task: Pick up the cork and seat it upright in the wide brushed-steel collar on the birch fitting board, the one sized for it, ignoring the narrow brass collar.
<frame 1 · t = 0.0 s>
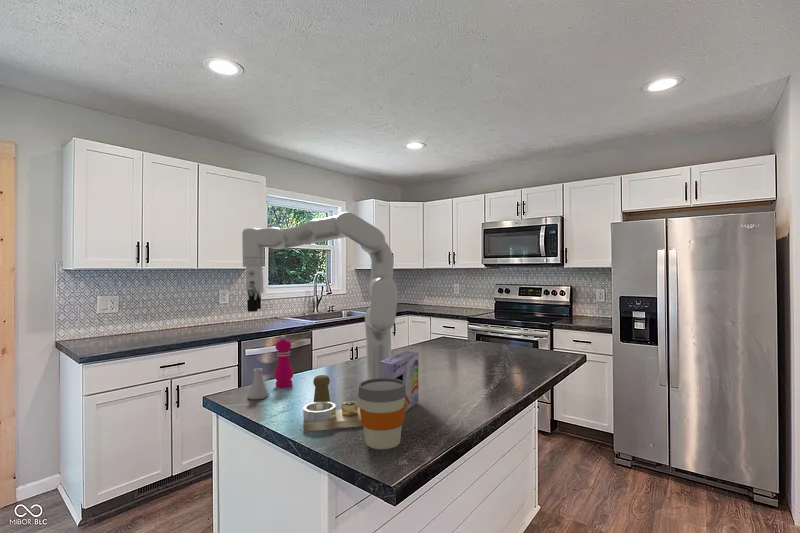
hand: (254, 310, 146), 31 cm above the counter, tool pointing down, fingers open, 9 cm apart
reusable coffee cup: (383, 442, 105), on the counter
pepper mill: (284, 386, 159), on the counter
cake pan box: (399, 412, 128), on the counter
flask: (258, 397, 145), on the counter
wide steel collar: (319, 423, 119), resting on fitting board
cork: (322, 410, 131), on the counter
narrow brass collar: (350, 420, 120), resting on fitting board
fitting board: (334, 422, 120), on the counter
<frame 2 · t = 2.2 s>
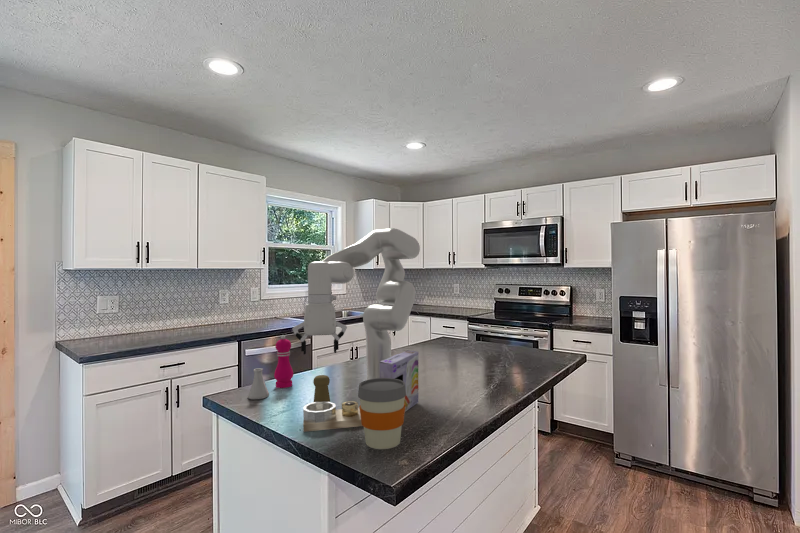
hand: (320, 352, 130), 18 cm above the counter, tool pointing down, fingers open, 9 cm apart
nothing on the counter moved.
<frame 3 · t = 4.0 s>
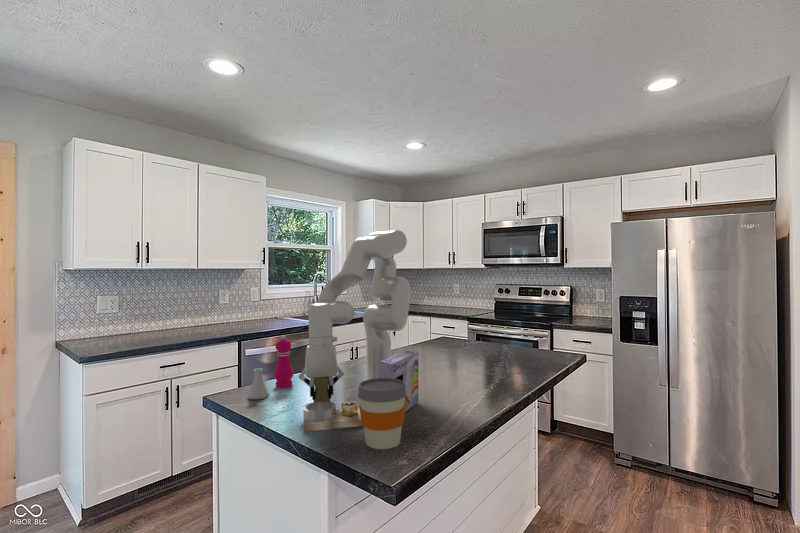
hand: (321, 397, 131), 4 cm above the counter, tool pointing down, fingers closed on cork, 4 cm apart
cork: (322, 410, 131), on the counter, touching gripper
everything else where it was.
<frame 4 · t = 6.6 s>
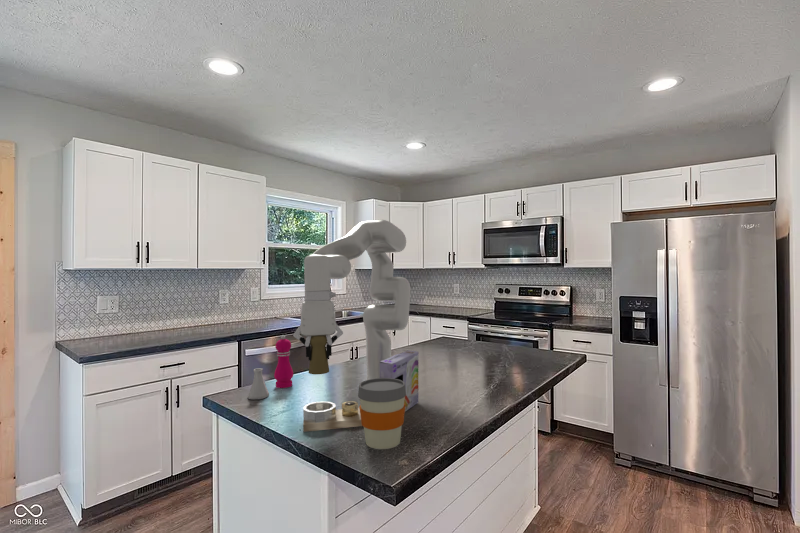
hand: (318, 358, 119), 19 cm above the counter, tool pointing down, fingers closed on cork, 4 cm apart
cork: (319, 372, 119), point 15 cm above the counter, touching gripper
everything else where it was.
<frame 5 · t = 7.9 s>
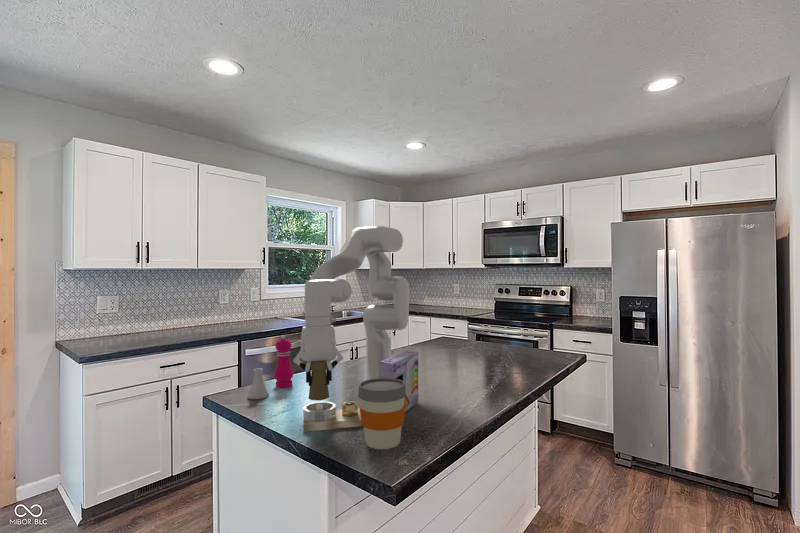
hand: (318, 383, 119), 12 cm above the counter, tool pointing down, fingers closed on cork, 4 cm apart
cork: (318, 397, 119), point 8 cm above the counter, touching gripper
everything else where it was.
when the fingers open (7 cm above the counter, at t = 9.2 s): cork stays where it is, resting on fitting board.
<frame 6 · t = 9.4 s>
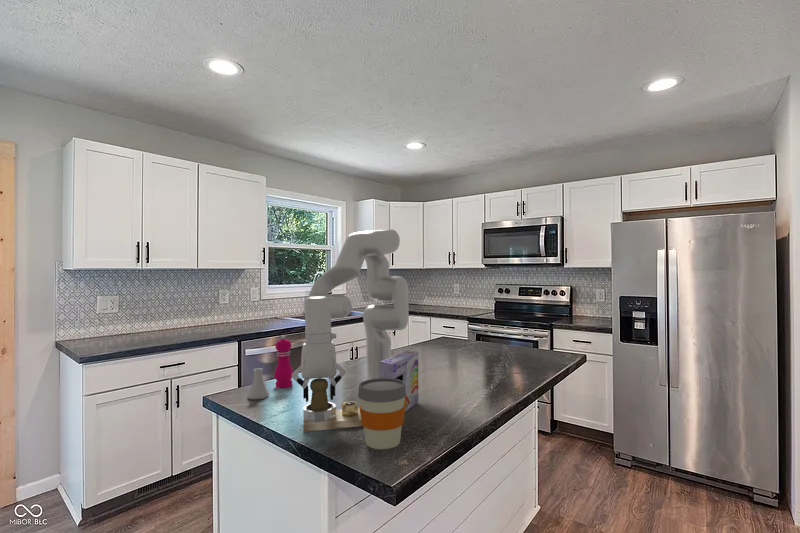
hand: (319, 399, 119), 7 cm above the counter, tool pointing down, fingers open, 6 cm apart
cork: (319, 417, 119), point 2 cm above the counter, touching fitting board
everything else where it was.
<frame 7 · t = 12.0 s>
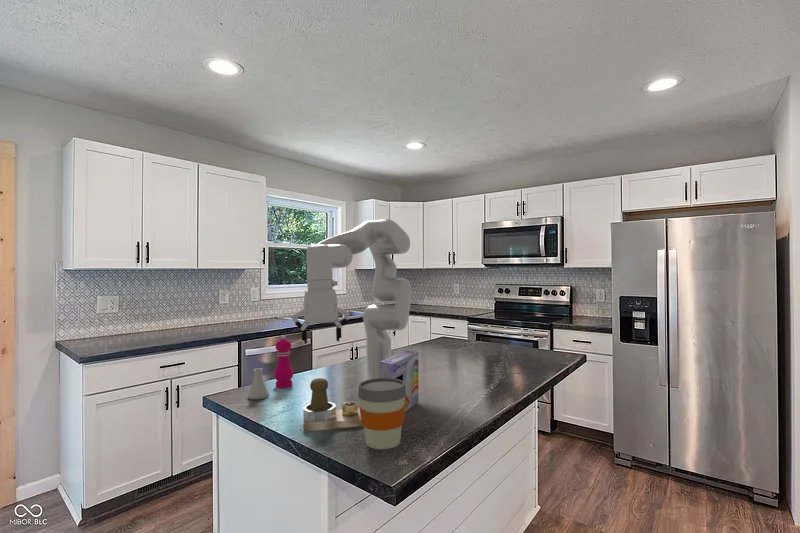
hand: (322, 341, 123), 23 cm above the counter, tool pointing down, fingers open, 9 cm apart
nothing on the counter moved.
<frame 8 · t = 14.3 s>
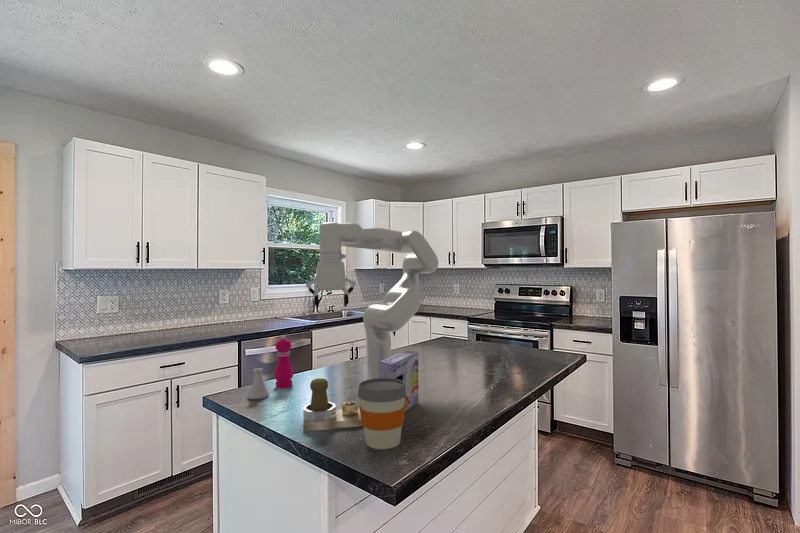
hand: (331, 306, 141), 32 cm above the counter, tool pointing down, fingers open, 9 cm apart
nothing on the counter moved.
at the end: cork 0.1 cm off-centre on the wide steel collar, point 1.8 cm above the wide steel collar's base; cork tilted 0°; the gripper is holding nothing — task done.
